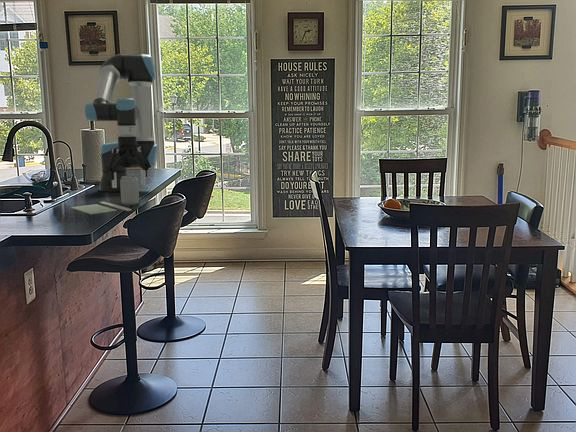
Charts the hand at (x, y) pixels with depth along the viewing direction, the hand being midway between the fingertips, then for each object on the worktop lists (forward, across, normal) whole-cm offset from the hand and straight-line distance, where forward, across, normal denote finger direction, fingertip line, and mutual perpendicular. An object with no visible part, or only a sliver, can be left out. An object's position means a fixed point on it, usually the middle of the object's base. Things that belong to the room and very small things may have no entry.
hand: (129, 186), depth 254 cm
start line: (+8, -8, -2) cm, 11 cm away
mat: (+8, -17, -2) cm, 19 cm away
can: (+8, 0, 0) cm, 8 cm away
